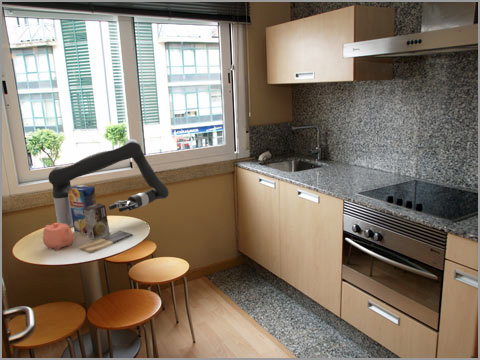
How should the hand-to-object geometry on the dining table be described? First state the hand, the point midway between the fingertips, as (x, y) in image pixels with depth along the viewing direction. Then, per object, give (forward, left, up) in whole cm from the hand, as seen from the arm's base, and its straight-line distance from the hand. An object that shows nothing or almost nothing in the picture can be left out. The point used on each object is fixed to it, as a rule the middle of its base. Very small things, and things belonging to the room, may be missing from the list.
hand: (114, 209), depth 208 cm
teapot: (-5, -29, -12) cm, 32 cm away
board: (+11, -14, -11) cm, 21 cm away
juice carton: (-13, -9, -11) cm, 20 cm away
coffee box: (0, -11, -12) cm, 16 cm away
